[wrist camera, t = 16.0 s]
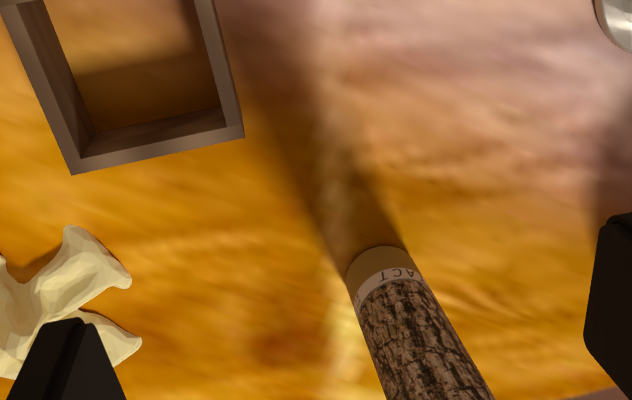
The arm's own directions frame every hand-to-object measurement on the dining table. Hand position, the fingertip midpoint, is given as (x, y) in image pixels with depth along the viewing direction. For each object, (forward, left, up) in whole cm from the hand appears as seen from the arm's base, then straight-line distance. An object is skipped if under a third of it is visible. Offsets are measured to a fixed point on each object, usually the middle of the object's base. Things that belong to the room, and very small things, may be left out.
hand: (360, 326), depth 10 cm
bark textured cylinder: (-7, +24, -33) cm, 41 cm away
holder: (+8, 0, -33) cm, 34 cm away
